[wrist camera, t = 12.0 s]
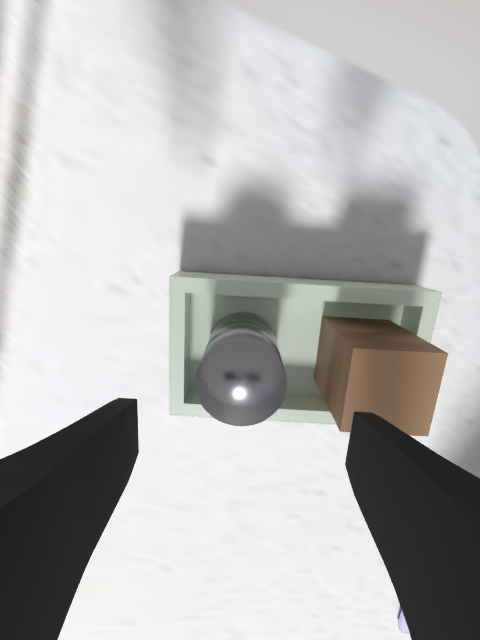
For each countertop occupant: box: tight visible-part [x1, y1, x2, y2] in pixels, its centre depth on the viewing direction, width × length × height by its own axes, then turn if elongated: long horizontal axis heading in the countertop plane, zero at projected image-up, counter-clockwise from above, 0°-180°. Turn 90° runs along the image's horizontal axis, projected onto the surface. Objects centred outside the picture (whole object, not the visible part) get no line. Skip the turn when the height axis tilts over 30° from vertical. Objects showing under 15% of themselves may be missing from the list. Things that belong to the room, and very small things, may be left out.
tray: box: [170, 271, 442, 425], centre depth 18 cm, size 14×8×2 cm, turn 87°
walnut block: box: [314, 316, 448, 436], centre depth 16 cm, size 4×4×6 cm
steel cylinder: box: [195, 312, 287, 426], centre depth 16 cm, size 4×4×6 cm
